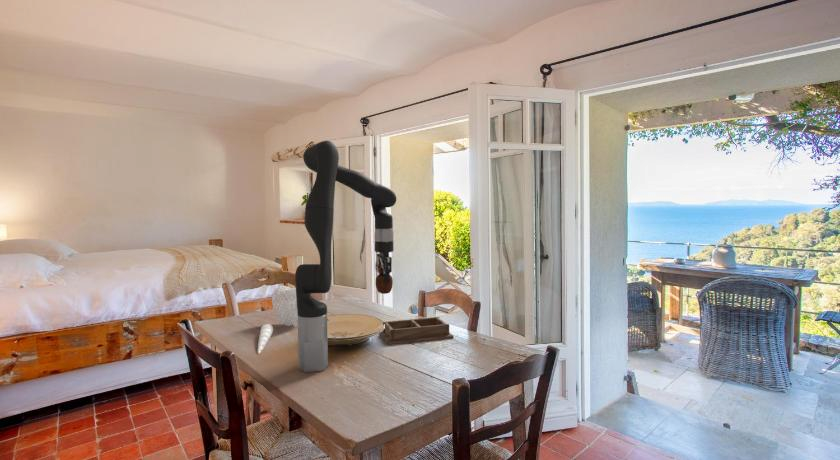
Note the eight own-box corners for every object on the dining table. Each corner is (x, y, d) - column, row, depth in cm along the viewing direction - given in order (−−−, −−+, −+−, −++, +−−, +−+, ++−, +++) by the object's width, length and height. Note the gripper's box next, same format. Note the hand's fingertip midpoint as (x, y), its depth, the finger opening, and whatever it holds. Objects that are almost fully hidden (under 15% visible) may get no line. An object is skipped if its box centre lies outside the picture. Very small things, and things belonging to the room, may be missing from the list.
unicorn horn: (247, 356, 143) (246, 342, 143) (261, 335, 166) (261, 323, 166) (261, 355, 144) (261, 341, 144) (273, 334, 167) (273, 323, 167)
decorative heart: (266, 325, 179) (265, 286, 178) (285, 319, 188) (285, 282, 187) (293, 332, 169) (292, 291, 168) (313, 325, 178) (312, 286, 177)
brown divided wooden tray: (453, 338, 160) (453, 325, 160) (388, 345, 152) (388, 332, 152) (439, 326, 176) (439, 315, 175) (379, 332, 168) (379, 320, 167)
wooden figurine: (395, 292, 165) (395, 255, 164) (387, 295, 160) (386, 257, 159) (381, 290, 169) (381, 254, 168) (373, 293, 164) (372, 256, 163)
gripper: (370, 238, 169) (371, 278, 170) (379, 241, 155) (379, 285, 156) (388, 238, 171) (388, 277, 172) (398, 241, 158) (398, 283, 159)
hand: (384, 281), depth 164 cm, fingers closed on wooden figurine, 7 cm apart
